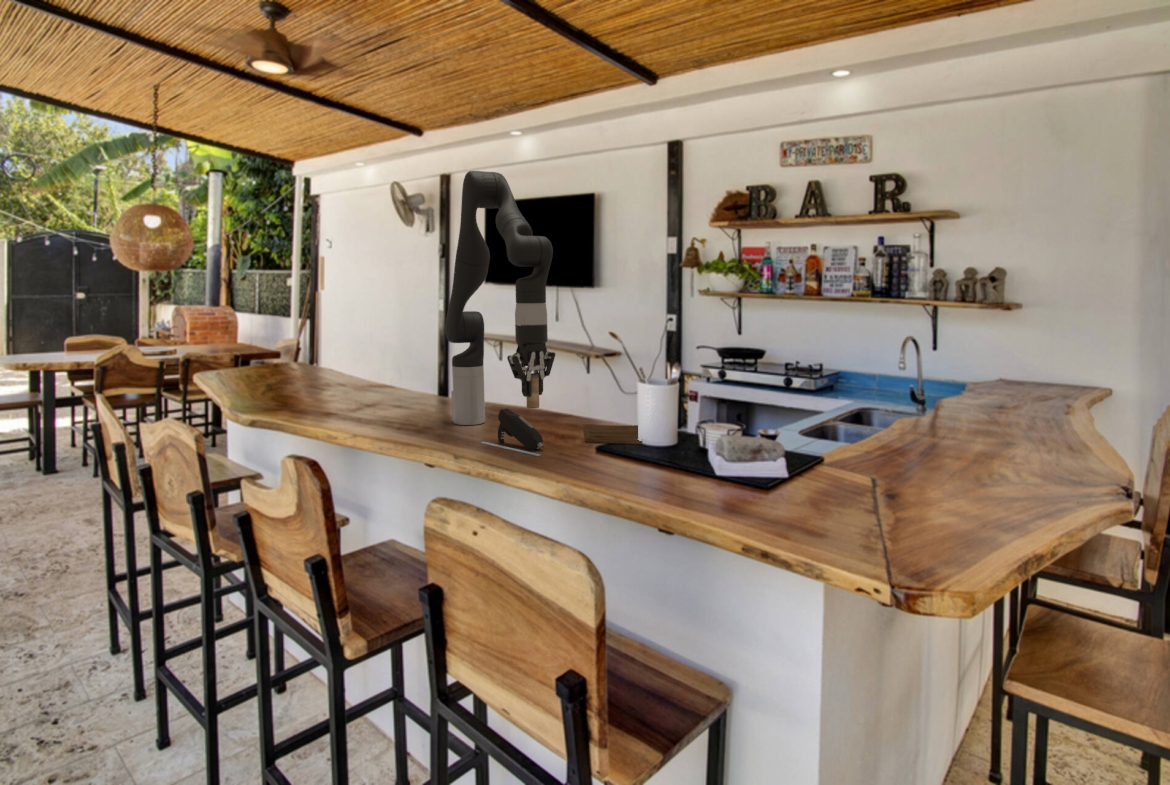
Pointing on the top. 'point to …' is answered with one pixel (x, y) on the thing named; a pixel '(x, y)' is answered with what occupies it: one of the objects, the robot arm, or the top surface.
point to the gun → (518, 430)
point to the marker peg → (534, 392)
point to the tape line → (511, 449)
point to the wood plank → (611, 434)
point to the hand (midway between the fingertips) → (532, 395)
